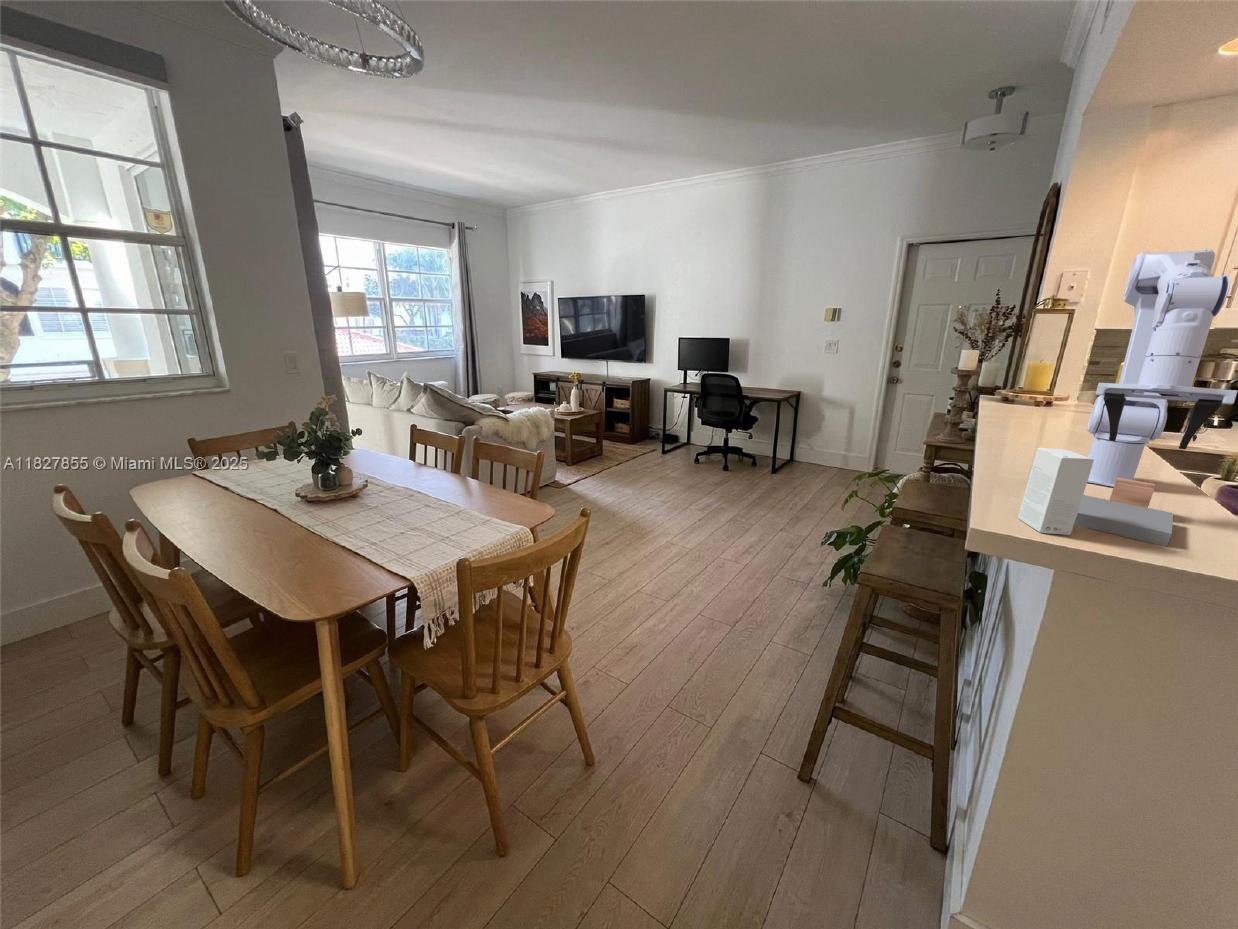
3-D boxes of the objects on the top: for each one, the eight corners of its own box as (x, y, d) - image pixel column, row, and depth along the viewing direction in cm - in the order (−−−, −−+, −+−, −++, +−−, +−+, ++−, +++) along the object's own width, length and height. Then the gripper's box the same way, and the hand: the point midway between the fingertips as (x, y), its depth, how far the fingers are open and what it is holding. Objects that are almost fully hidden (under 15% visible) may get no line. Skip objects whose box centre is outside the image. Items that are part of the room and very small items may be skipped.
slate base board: (1068, 503, 85) (1071, 492, 84) (1168, 524, 76) (1173, 512, 76) (1056, 520, 77) (1060, 508, 77) (1166, 546, 69) (1171, 533, 68)
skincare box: (1071, 536, 72) (1096, 459, 68) (1039, 533, 72) (1061, 457, 69) (1046, 520, 77) (1067, 448, 74) (1016, 517, 78) (1035, 446, 75)
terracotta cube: (1108, 504, 85) (1117, 477, 83) (1145, 512, 82) (1155, 484, 80) (1105, 510, 82) (1115, 483, 80) (1143, 518, 79) (1154, 490, 77)
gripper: (1105, 353, 77) (1081, 437, 79) (1251, 356, 66) (1219, 453, 68) (1107, 358, 81) (1085, 437, 84) (1244, 362, 71) (1215, 453, 73)
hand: (1145, 444), depth 76 cm, fingers open, 7 cm apart
